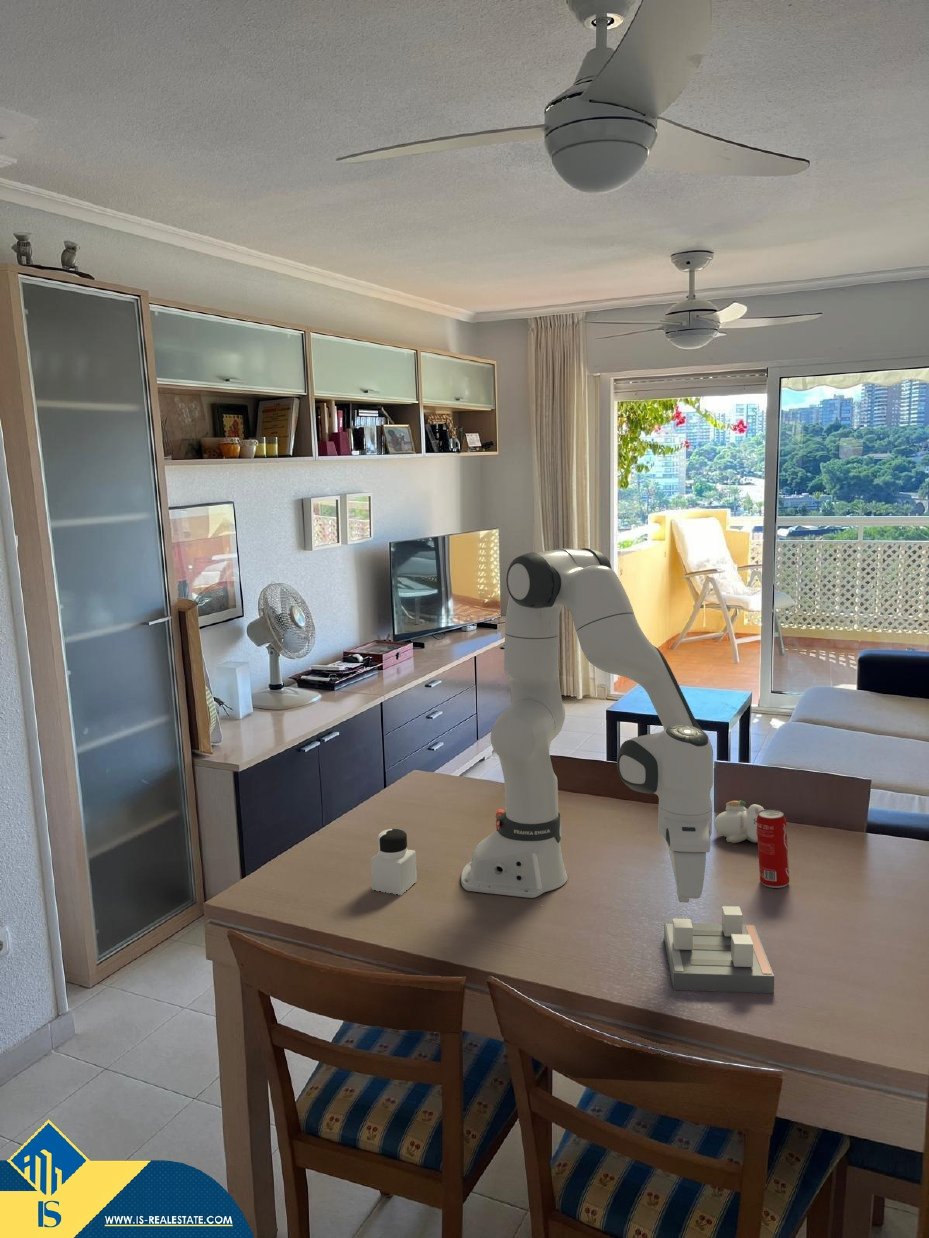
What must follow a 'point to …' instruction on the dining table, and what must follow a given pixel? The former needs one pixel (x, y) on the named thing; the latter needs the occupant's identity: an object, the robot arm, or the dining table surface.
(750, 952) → the front handle
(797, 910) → the dining table surface
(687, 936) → the beige square block
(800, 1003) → the dining table surface
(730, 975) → the grey slider board
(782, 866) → the beverage can
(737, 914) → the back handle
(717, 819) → the cat figurine
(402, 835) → the medicine bottle
